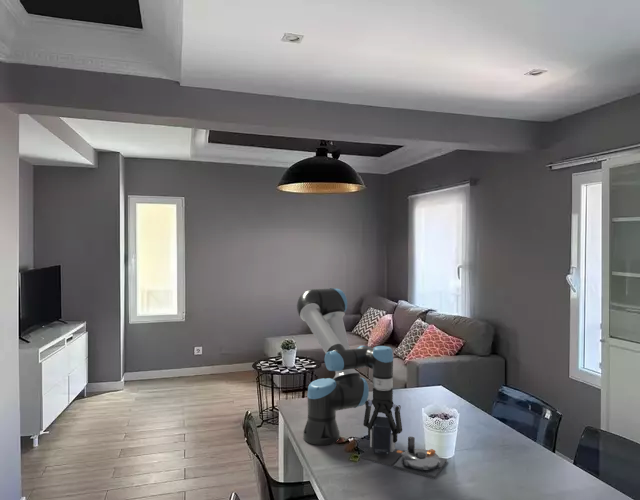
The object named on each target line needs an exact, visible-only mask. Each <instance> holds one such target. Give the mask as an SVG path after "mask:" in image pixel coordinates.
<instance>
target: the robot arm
mask: <svg viewBox="0 0 640 500" xmlns="http://www.w3.org/2000/svg"><path fill="white" fill-rule="evenodd" d="M296 310H297V314H298V316H299V318H300V320H302V321H303V322H305V323H306V325H307V326H308V328H309V330H310V331H311V333H312V334H313V336H314V338H315V339H316V341H317V343H318V344H319V346H320V347H321V349H322V350H323V352H324V354H325V355H324V359H323V360H324V364H325V368H326V370H328V371H330V372H335V375H334V377H333V378H330V377H327V378H324V377H323V378H318V379H315V380H313V381H311V382H310V383H309V385H308V387H307V393H306V394H307V420H306V422H305V426H304V429H303V432H302V437H303V438H302V439H303V441H305V442H307V443H308V444H311V445H317V446H326V445H332V444H335V443H337V442H338V441H339V440H340V439H339V438H341V437H340V434H341V433H340V430H339V425H338V423H337V420H336V417H337V416H336V412H337V411H342V410H347V409H356V408H358V407H362V406H364V405H365V411H364V418H363V427H366V428H367V436H368V438H369V441H370V442H369V447H372V446H373V425H374V421H375V419H376V418H377V416H378V415H379V413H382V414H384V415H385V417H387V419H388V422H389V424H390V427H391V439H390V452H393V451H394V450H395V449H396V443H397V442H398V434H401V433H402V432H403V425H402V418H401V407H402V406H401V405H399V404H397V405H396V404H394V401H393V400H394V399H393V398H394V396H393V395H394V394H393V393H394V389H393V388H394V381H393V380H394V375H393V374H394V354H393V351H394V350H393V348H391V346H386V345H376V346H373V348H372V347H371V346H368V345H359V346H358V347H356V348H350V343H349V340H348V334H347V331H346V327H345V323H344V317H345V314H346V311H347V310H348V298H347V296H346V293H345V292H344V291H343V290H342V289H340V288H332V287H331V288H312V289H308V290H305V291H303V292H302V293H301V294H300V296H299V297H298V299H297V303H296ZM362 368H368V369H371V370H372V387H373V388H372V399H369V396H370V393H369V392H370V388H369V384H368V382H367V380H366V379H365V378H363V377H361V375H360V372H359V371H358V370H356V369H362ZM372 406H373V408H374V410H373V413H372V415H371V411H372ZM392 409H393V411H394V416H393V412H392ZM370 417H371V418H370ZM338 439H339V440H338ZM337 440H338V441H337ZM336 441H337V442H336Z"/></svg>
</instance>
